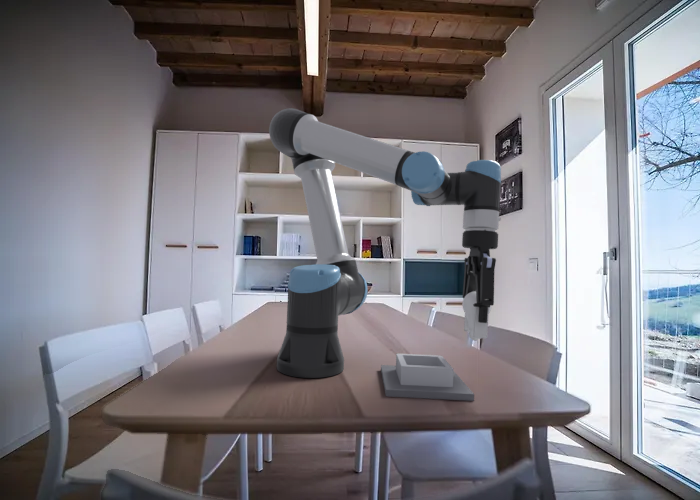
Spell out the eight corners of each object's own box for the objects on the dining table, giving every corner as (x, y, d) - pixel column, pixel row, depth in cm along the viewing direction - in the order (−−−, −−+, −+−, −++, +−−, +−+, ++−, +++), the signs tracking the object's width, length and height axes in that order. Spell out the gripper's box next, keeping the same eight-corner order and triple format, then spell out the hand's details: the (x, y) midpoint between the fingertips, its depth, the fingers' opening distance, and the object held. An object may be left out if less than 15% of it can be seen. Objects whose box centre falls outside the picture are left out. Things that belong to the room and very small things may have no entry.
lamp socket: (385, 396, 65) (386, 370, 65) (380, 370, 81) (381, 349, 81) (474, 400, 64) (474, 374, 64) (451, 373, 80) (452, 352, 80)
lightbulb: (492, 345, 75) (494, 293, 75) (462, 342, 76) (464, 291, 77) (486, 339, 81) (489, 291, 81) (459, 336, 82) (461, 289, 83)
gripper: (515, 227, 70) (510, 345, 69) (482, 235, 89) (477, 327, 88) (477, 225, 70) (471, 343, 69) (452, 233, 89) (447, 325, 88)
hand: (475, 334), depth 79 cm, fingers closed on lightbulb, 6 cm apart
